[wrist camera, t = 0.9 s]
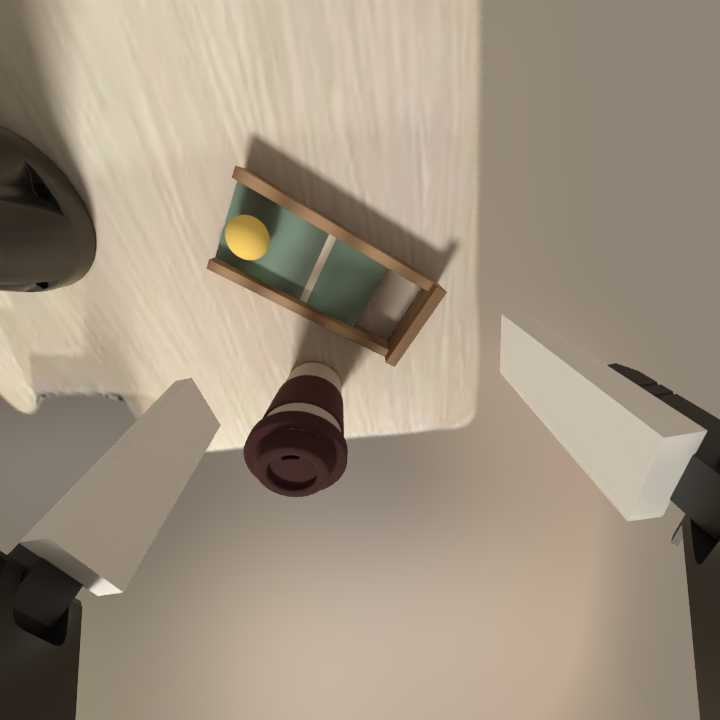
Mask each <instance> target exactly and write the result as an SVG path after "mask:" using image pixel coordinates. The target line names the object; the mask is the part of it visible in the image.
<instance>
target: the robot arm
mask: <svg viewBox="0 0 720 720" xmlns="http://www.w3.org/2000/svg"><path fill="white" fill-rule="evenodd" d="M94 254H95V237H94V231H93V227H92V223H91V220H90V217H89V215H88V212H87V210H86V208H85V206H84V204H83V202H82V200H81V198H80V196H79V195H78V193H77V191H76V190H75V188H74V187H73V185H72V184H71V183H70V181H69V180H68V179H67V178H66V176H65V175H64V174H63V173H62V172H61V170H60V169H59V168H58V167H57V166H56V165H55V164H54V163H53V162H52V161H51V160H50V159H49V158H48V157H47V156H46V155H45V154H43V153H42V152H41V151H40V150H39V149H37V148H36V147H35V146H34V145H32V144H31V143H29V142H28V141H27V140H25V139H23V138H22V137H20V136H19V135H17V134H15V133H13V132H12V131H9V130H7V129H5V128H3V127H1V126H0V291H15V292H42V291H49V290H53V289H57V288H61V287H64V286H68V285H71V284H73V283H75V282H77V281H79V280H80V279H81V278H83V277H84V276H85V275H86V273H87V272H88V271H89V269H90V267H91V265H92V262H93V259H94ZM501 325H502V326H501V354H500V355H501V356H500V373H501V374H502V375H503V376H504V378H505V379H506V380H507V381H508V382H509V383H510V385H511V386H512V387H513V388H514V389H515V390H516V392H517V393H518V394H519V395H520V396H521V397H522V399H523V400H524V401H525V402H526V403H527V404H528V406H529V407H530V408H531V409H532V410H533V411H534V413H535V414H536V415H537V416H538V417H539V418H540V420H541V421H542V422H543V423H544V424H545V425H546V427H547V428H548V429H549V430H550V431H551V432H552V434H553V435H554V436H555V437H556V438H557V439H558V441H559V442H560V443H561V444H562V445H563V446H564V448H565V449H566V450H567V451H568V452H569V453H570V455H571V456H572V457H573V458H574V459H575V460H576V462H577V463H578V464H579V465H580V466H581V467H582V469H583V470H584V471H585V472H586V473H587V474H588V476H589V477H590V478H591V479H592V480H593V481H594V483H595V484H596V485H597V486H598V487H599V488H600V490H601V491H602V492H603V493H604V494H605V495H606V497H607V498H608V499H609V500H610V501H611V502H612V504H613V505H614V506H615V507H616V508H617V509H618V511H619V512H620V513H621V514H622V515H623V516H624V518H625V519H626V520H627V521H633V520H640V519H647V518H654V517H661V516H663V514H664V512H665V510H666V508H667V506H668V504H669V503H670V501H672V502H673V503H675V504H676V505H677V506H678V507H679V508H680V509H681V510H682V511H683V512H684V513H685V516H684V518H683V519H682V521H681V523H680V524H679V526H678V528H677V529H676V531H675V533H674V534H673V537H672V540H671V543H672V544H675V545H678V544H679V543H680V541H681V539H682V538H683V542H684V552H685V562H686V574H687V584H688V595H689V605H690V616H691V627H692V638H693V647H694V659H695V669H696V680H697V691H698V701H699V711H700V720H720V420H719V419H718V418H716V417H714V416H713V415H711V414H709V413H708V412H706V411H704V410H703V409H701V408H699V407H698V406H696V405H694V404H693V403H691V402H689V401H688V400H686V399H684V398H683V397H681V396H679V395H677V394H675V395H674V394H673V391H671V390H669V389H668V388H666V387H664V386H663V385H658V384H657V382H656V381H654V380H653V379H651V378H649V377H647V376H646V375H644V374H643V373H641V372H639V371H637V370H634V369H630V368H628V367H625V366H622V365H619V364H616V363H615V364H610V365H606V364H604V363H603V362H601V361H599V360H598V359H596V358H595V357H593V356H592V355H590V354H589V353H587V352H586V351H584V350H583V349H581V348H580V347H578V346H576V345H575V344H573V343H572V342H570V341H569V340H567V339H566V338H564V337H562V336H561V335H559V334H558V333H556V332H555V331H553V330H552V329H550V328H549V327H547V326H546V325H544V324H543V323H541V322H539V321H538V320H536V319H535V318H533V317H532V316H530V315H529V314H527V313H526V312H524V311H523V310H520V311H515V312H510V313H505V314H502V324H501ZM219 427H220V423H219V422H218V420H217V418H216V417H215V415H214V413H213V412H212V410H211V409H210V407H209V405H208V404H207V402H206V400H205V399H204V397H203V396H202V394H201V392H200V391H199V389H198V387H197V386H196V384H195V382H194V381H193V379H192V378H189V379H184V380H179V381H175V382H174V383H173V384H172V385H171V386H170V387H169V388H168V389H167V390H166V391H165V393H164V394H163V395H162V396H161V397H160V398H159V399H158V400H157V401H156V402H155V403H154V404H153V405H152V406H151V407H150V408H149V409H148V410H147V411H146V412H145V413H144V414H143V415H142V416H141V417H140V418H139V419H138V420H137V421H136V422H135V424H133V425H132V426H131V428H130V429H129V430H128V431H127V432H126V433H125V434H124V435H123V436H122V437H121V438H120V439H119V440H118V441H117V442H116V443H115V444H114V445H113V446H112V447H111V448H110V449H109V450H108V451H107V452H106V453H105V454H104V455H103V456H102V457H101V458H100V459H99V460H98V461H97V463H96V464H95V465H94V466H93V467H92V468H91V469H90V470H89V471H88V472H87V473H86V474H85V475H84V476H83V477H82V478H81V479H80V480H79V481H78V482H77V483H76V484H75V485H74V486H73V487H72V488H71V489H70V490H69V491H68V492H67V494H65V495H64V496H63V497H62V499H60V500H59V502H58V503H57V504H56V505H55V506H54V507H53V508H52V509H51V510H50V511H49V512H48V513H47V514H46V515H45V516H44V517H43V518H42V519H41V520H40V521H39V522H38V523H37V524H36V525H35V526H34V527H33V528H32V529H31V530H30V531H29V532H28V533H27V535H25V536H24V538H23V539H22V540H21V541H20V542H19V544H18V545H17V546H16V547H15V548H14V549H13V550H12V551H11V552H10V553H9V554H8V555H6V554H4V553H3V552H1V551H0V720H75V716H76V701H77V684H78V668H79V652H80V635H81V618H82V605H81V601H79V600H78V599H76V598H75V596H76V595H77V593H78V592H79V591H80V589H81V588H82V586H84V587H85V588H87V589H88V590H90V591H91V592H93V593H94V594H96V595H97V596H101V595H108V594H115V593H122V592H124V590H125V588H126V586H127V585H128V583H129V581H130V580H131V578H132V576H133V574H134V573H135V571H136V569H137V567H138V566H139V564H140V562H141V561H142V559H143V557H144V555H145V554H146V552H147V550H148V549H149V547H150V545H151V543H152V542H153V540H154V538H155V537H156V535H157V533H158V532H159V530H160V528H161V526H162V525H163V523H164V521H165V520H166V517H167V516H168V514H169V513H170V511H171V509H172V508H173V506H174V504H175V502H176V501H177V499H178V497H179V496H180V494H181V492H182V490H183V488H184V487H185V485H186V483H187V482H188V480H189V478H190V477H191V475H192V473H193V471H194V470H195V468H196V466H197V465H198V463H199V461H200V459H201V458H202V456H203V454H204V453H205V451H206V449H207V447H208V446H209V444H210V442H211V441H212V439H213V437H214V435H215V434H216V432H217V430H218V429H219Z"/></svg>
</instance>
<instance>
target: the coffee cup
mask: <svg viewBox="0 0 720 720" xmlns="http://www.w3.org/2000/svg"><path fill="white" fill-rule="evenodd" d="M347 452H348V451H347V444H346V441H345V438H344V421H343V399H342V396H341V382H340V379H339V377H338V375H337V374H336V372H335V371H334V370H333V369H331V368H330V367H328V366H326V365H324V364H321V363H316V362H309V363H305V364H301V365H299V366H298V367H296V368H295V369H294V370H293V371H292V372H291V373H290V375H289V377H288V379H287V380H286V382H285V383H284V384H283V385H282V386H281V388H280V389H279V391H278V393H277V394H276V396H275V398H274V400H273V401H272V403H271V405H270V406H269V408H268V410H267V412H266V413H265V415H264V417H263V419H262V420H260V421H259V422H258V423H257V424H256V425H255V426H254V428H253V429H252V430H251V432H250V434H249V436H248V438H247V440H246V443H245V446H244V458H245V462H246V464H247V466H248V468H249V469H250V471H251V472H252V474H253V475H255V477H257V478H258V479H259V481H260V482H261V483H262V484H263V485H264V486H265V487H266V488H268V489H269V490H271V491H273V492H275V493H278V494H280V495H284V496H289V497H303V496H308V495H311V494H314V493H316V492H318V491H320V490H323V489H325V488H327V487H329V486H331V485H333V484H334V483H335V482H336V481H338V480H339V479H340V477H341V476H342V474H343V473H344V471H345V469H346V465H347Z"/></svg>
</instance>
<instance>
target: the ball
mask: <svg viewBox="0 0 720 720" xmlns="http://www.w3.org/2000/svg"><path fill="white" fill-rule="evenodd" d="M225 238H226V242H227V245H228V246H229V248H230V250H231V251H232V252H233V253H234V254H235V255H237V256H238V257H240V258H242V259H245V260H256V259H259V258H261V257H262V256H264V255H265V254H266V252H267V251H268V248H269V245H270V236H269V233H268V230H267V228H266V227H265V225H264V224H263V223H262V222H261V221H260V220H258V219H257V218H255V217H253V216H250V215H239V216H236V217H234V218H233V219H231V220H230V221H229V223H228V224H227V227H226V230H225Z"/></svg>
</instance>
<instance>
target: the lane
mask: <svg viewBox="0 0 720 720" xmlns="http://www.w3.org/2000/svg"><path fill="white" fill-rule="evenodd" d="M232 178H234V179H235V180H237V184H236V188H235V191H234V195H233V198H232V202H231V205H230V208H229V212H228V215H227V219H226V222H225V226H224V229H223V233H222V236H221V240H220V243H219V247H218V250H217V254H216V257H215V258H212V259H210V260H209V262H208V266H207V269H209V270H211V271H213V272H215V273H217V274H219V275H221V276H223V277H225V278H227V279H229V280H231V281H233V282H235V283H237V284H239V285H241V286H243V287H245V288H247V289H249V290H251V291H253V292H255V293H257V294H259V295H261V296H263V297H265V298H267V299H269V300H271V301H273V302H275V303H277V304H279V305H281V306H283V307H285V308H287V309H289V310H291V311H293V312H295V313H297V314H299V315H301V316H303V317H305V318H307V319H309V320H312V321H314V322H316V323H318V324H320V325H322V326H324V327H326V328H328V329H330V330H332V331H334V332H336V333H338V334H340V335H342V336H344V337H346V338H348V339H350V340H352V341H354V342H356V343H358V344H360V345H362V346H364V347H366V348H368V349H370V350H372V351H374V352H376V353H378V354H380V355H382V356H384V357H385V360H386V363H388V364H390V365H392V366H394V367H395V366H396V364H397V363H398V361H399V360H400V358H401V357H402V356H403V354H404V353H405V351H406V350H407V348H408V347H409V346H410V344H411V343H412V341H413V340H414V338H415V337H416V336H417V334H418V333H419V331H420V330H421V328H422V327H423V326H424V324H425V323H426V321H427V320H428V318H429V317H430V316H431V314H432V313H433V311H434V310H435V308H436V307H437V306H438V304H439V303H440V301H441V300H442V298H443V297H444V296H445V294H446V293H447V292H446V291H445V290H444V289H443V288H442V287H441V286H440V285H439V284H438V283H437V282H435V281H433V280H432V279H430V278H428V277H427V276H425V275H423V274H421V273H420V272H418V271H416V270H415V269H413V268H411V267H410V266H408V265H406V264H405V263H403V262H401V261H400V260H398V259H396V258H395V257H393V256H391V255H390V254H388V253H386V252H384V251H383V250H381V249H379V248H378V247H376V246H374V245H373V244H371V243H369V242H368V241H366V240H364V239H363V238H361V237H359V236H358V235H356V234H354V233H353V232H351V231H349V230H347V229H346V228H344V227H342V226H341V225H339V224H337V223H336V222H334V221H332V220H331V219H329V218H327V217H326V216H324V215H322V214H321V213H319V212H317V211H316V210H314V209H312V208H310V207H309V206H307V205H305V204H304V203H302V202H300V201H299V200H297V199H295V198H294V197H292V196H290V195H289V194H287V193H285V192H284V191H282V190H280V189H279V188H277V187H275V186H274V185H272V184H270V183H268V182H267V181H265V180H263V179H262V178H260V177H258V176H257V175H255V174H253V173H252V172H250V171H248V170H247V169H244V168H241V167H238V166H235V169H234V173H233V176H232ZM239 215H250V216H253V217H255V218H257V219H258V220H260V221H261V222H262V223H263V224H264V225H265V227H266V228H267V230H268V233H269V236H270V245H269V248H268V251H267V252H266V254H265V255H264V256H262V257H261V258H259V259H256V260H245V259H242V258H240V257H238V256H237V255H235V254H234V253H233V252H232V251H231V250H230V248H229V246H228V245H227V242H226V238H225V230H226V227H227V224H228V223H229V221H230V220H231V219H233V218H234V217H236V216H239ZM387 268H389V269H390V270H392V271H394V272H396V273H397V274H399V275H401V276H402V277H404V278H406V279H408V280H409V281H411V282H413V283H414V284H416V285H418V286H420V287H421V288H422V289H421V291H420V292H419V294H418V295H417V297H416V298H415V300H414V301H413V303H412V304H411V306H410V307H409V309H408V310H407V312H406V313H405V315H404V317H403V318H402V320H401V321H400V323H399V324H398V326H397V327H396V329H395V330H394V332H393V333H392V335H391V336H390V338H389V340H388V341H386V340H384V339H382V338H380V337H378V336H376V335H374V334H372V333H371V332H369V331H367V330H365V329H363V328H361V327H359V326H357V325H355V323H356V321H357V320H358V318H359V316H360V315H361V313H362V311H363V309H364V308H365V306H366V304H367V302H368V301H369V299H370V297H371V295H372V294H373V292H374V290H375V288H376V287H377V285H378V283H379V281H380V280H381V278H382V276H383V274H384V273H385V271H386V269H387Z"/></svg>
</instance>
